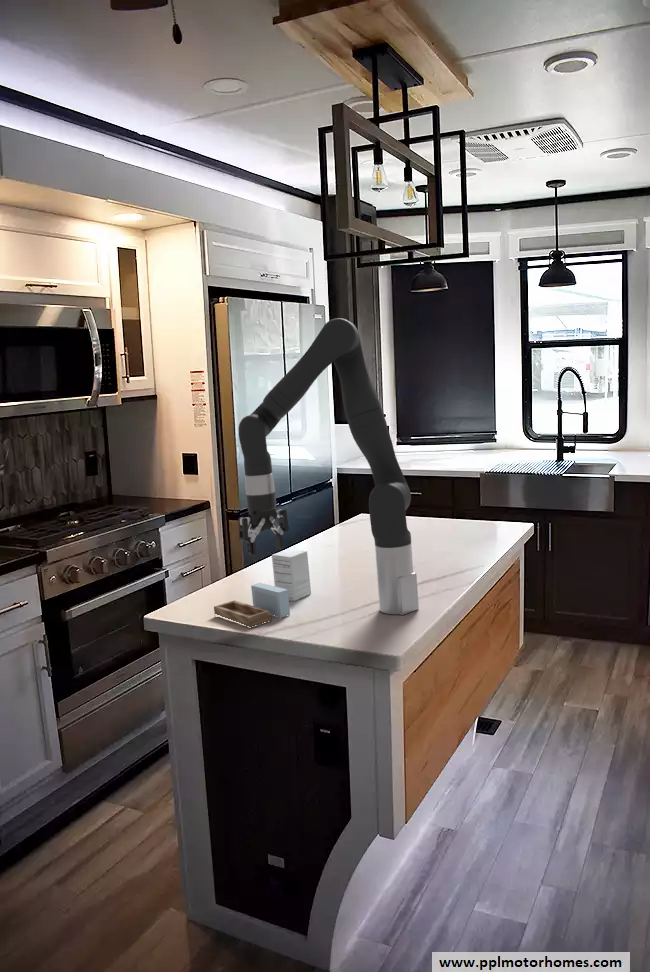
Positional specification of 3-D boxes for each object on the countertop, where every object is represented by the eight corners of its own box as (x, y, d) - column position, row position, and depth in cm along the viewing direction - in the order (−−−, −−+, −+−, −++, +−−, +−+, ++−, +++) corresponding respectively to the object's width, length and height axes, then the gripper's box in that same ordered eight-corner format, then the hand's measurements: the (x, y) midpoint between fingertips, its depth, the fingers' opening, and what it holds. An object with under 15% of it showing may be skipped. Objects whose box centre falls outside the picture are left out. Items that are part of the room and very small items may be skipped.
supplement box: (292, 591, 230) (288, 548, 229) (312, 594, 226) (308, 550, 224) (274, 598, 225) (270, 554, 223) (294, 601, 220) (290, 556, 218)
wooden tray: (270, 621, 204) (269, 610, 204) (250, 628, 200) (248, 617, 200) (235, 610, 216) (234, 600, 216) (214, 616, 212) (213, 606, 212)
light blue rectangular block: (290, 615, 208) (287, 589, 207) (280, 619, 206) (277, 592, 205) (262, 607, 217) (260, 582, 216) (252, 610, 215) (250, 585, 214)
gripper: (245, 497, 200) (252, 560, 202) (291, 487, 209) (296, 548, 211) (229, 494, 206) (235, 556, 208) (273, 486, 215) (279, 545, 217)
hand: (266, 552), depth 210 cm, fingers open, 8 cm apart
